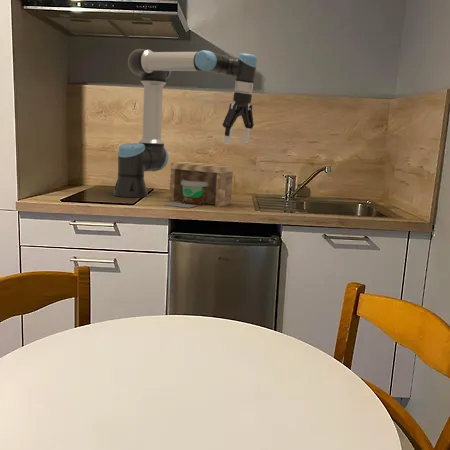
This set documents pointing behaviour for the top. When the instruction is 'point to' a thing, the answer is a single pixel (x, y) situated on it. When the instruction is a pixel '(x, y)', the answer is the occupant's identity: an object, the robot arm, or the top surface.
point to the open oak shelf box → (200, 172)
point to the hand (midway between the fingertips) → (236, 143)
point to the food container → (194, 192)
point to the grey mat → (181, 205)
